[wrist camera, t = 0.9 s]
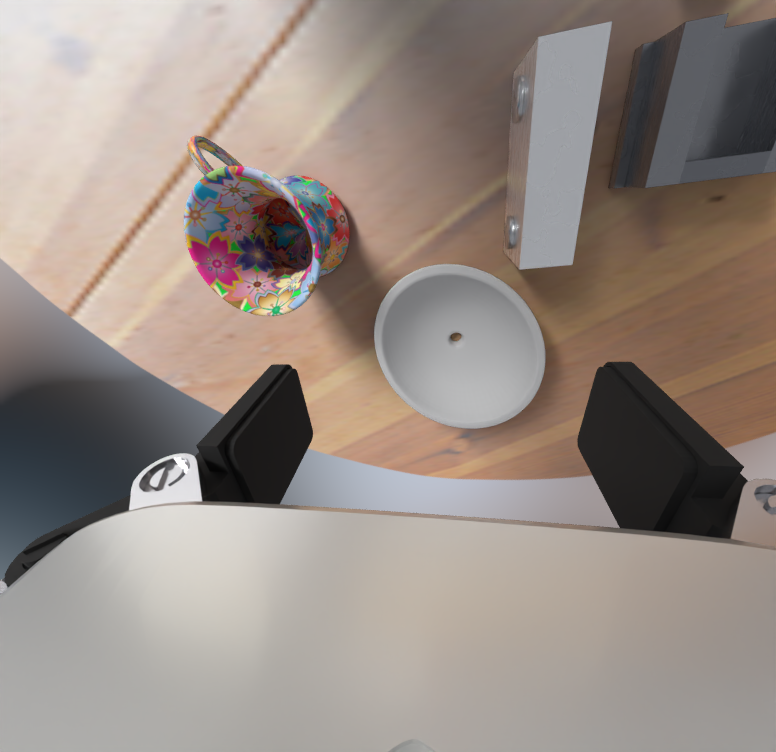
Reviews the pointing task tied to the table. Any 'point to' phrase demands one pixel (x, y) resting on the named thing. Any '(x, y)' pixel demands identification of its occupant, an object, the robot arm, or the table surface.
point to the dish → (459, 346)
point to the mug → (261, 233)
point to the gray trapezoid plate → (552, 144)
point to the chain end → (699, 106)
